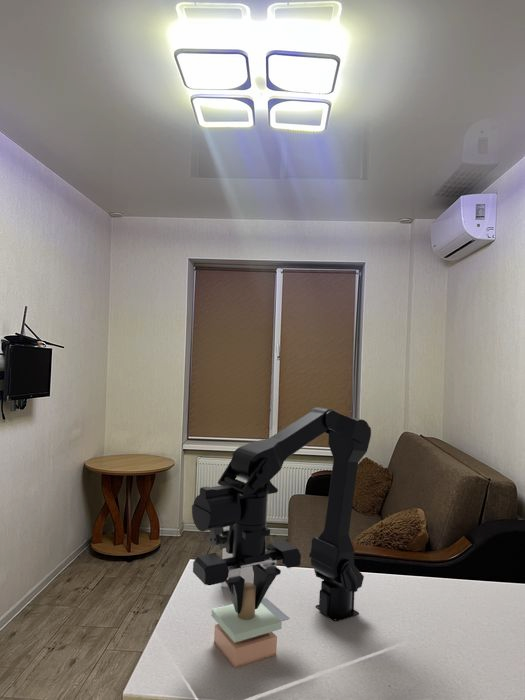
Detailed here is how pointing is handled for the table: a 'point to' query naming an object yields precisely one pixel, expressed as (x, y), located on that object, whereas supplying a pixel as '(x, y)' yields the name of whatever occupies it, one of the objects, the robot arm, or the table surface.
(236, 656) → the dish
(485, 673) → the table surface
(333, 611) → the robot arm
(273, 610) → the mat
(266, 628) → the lid
